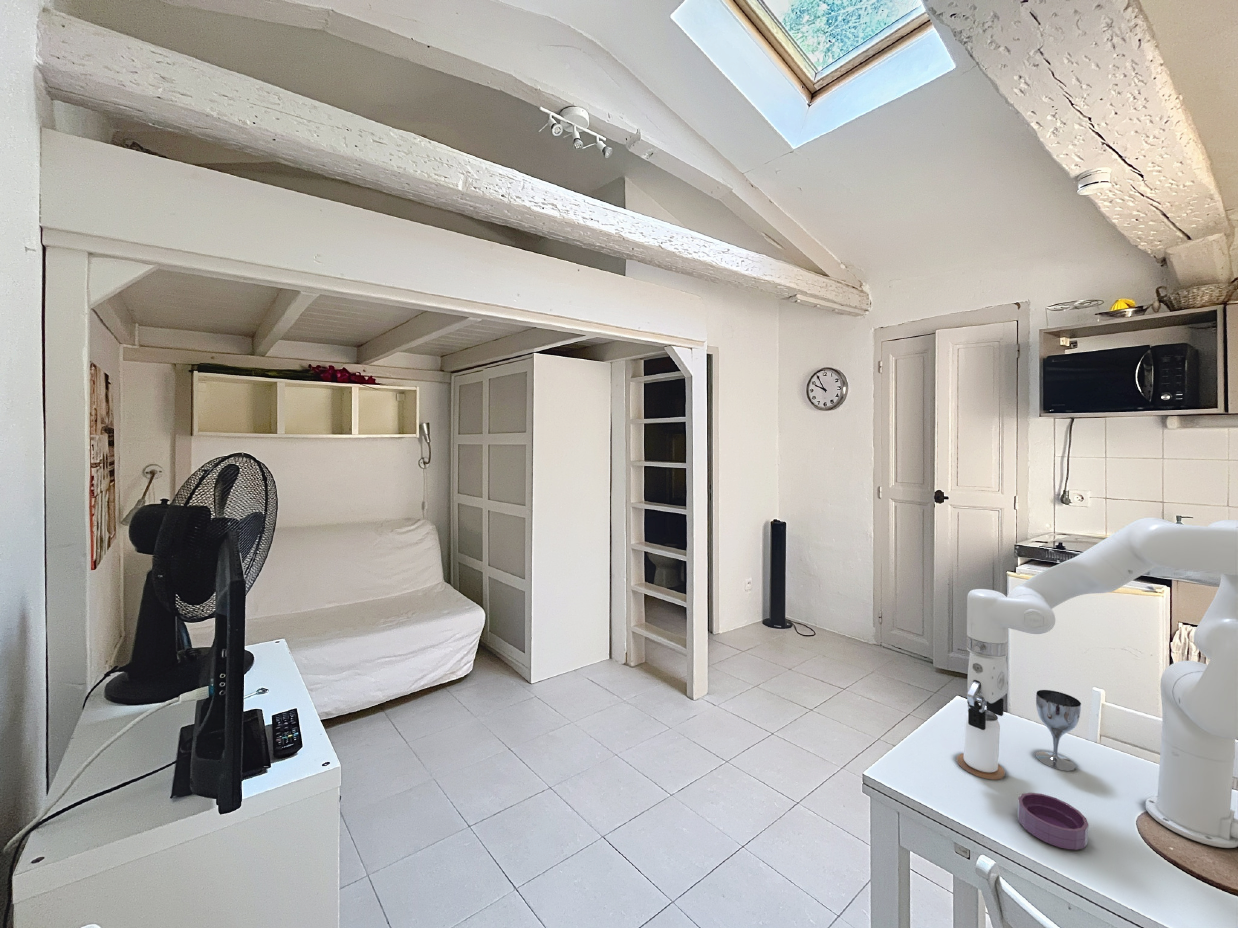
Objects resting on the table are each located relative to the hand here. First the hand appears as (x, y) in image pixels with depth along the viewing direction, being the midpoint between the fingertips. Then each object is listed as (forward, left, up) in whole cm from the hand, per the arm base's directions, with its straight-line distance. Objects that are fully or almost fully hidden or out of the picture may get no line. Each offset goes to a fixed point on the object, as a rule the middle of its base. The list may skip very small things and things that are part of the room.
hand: (986, 719), depth 118 cm
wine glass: (-8, -17, -11) cm, 22 cm away
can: (+1, 0, -11) cm, 11 cm away
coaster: (+1, 0, -11) cm, 11 cm away
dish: (-15, +11, -11) cm, 22 cm away
